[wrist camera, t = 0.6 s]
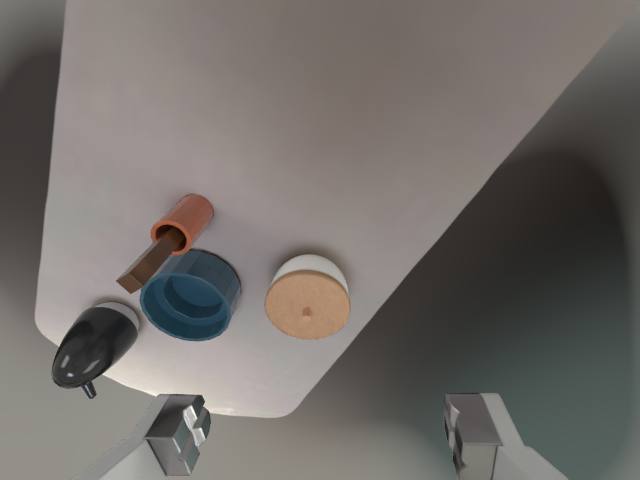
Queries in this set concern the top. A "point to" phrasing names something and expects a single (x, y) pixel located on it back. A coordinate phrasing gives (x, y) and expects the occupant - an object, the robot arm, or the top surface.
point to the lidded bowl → (308, 298)
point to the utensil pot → (185, 221)
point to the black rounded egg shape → (94, 345)
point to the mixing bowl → (191, 296)
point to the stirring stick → (151, 260)
